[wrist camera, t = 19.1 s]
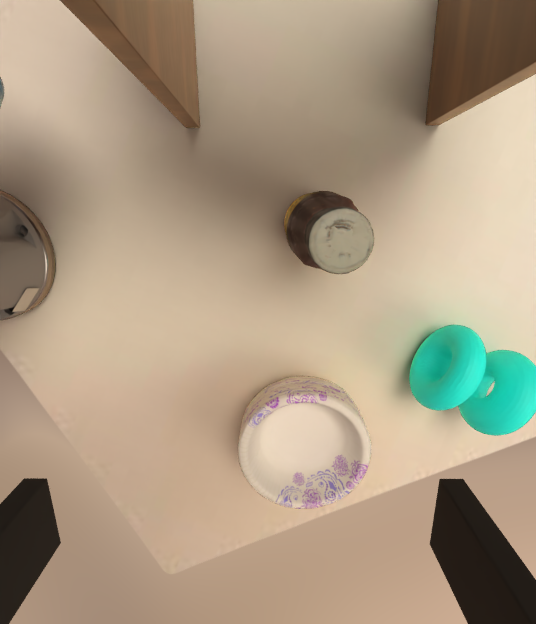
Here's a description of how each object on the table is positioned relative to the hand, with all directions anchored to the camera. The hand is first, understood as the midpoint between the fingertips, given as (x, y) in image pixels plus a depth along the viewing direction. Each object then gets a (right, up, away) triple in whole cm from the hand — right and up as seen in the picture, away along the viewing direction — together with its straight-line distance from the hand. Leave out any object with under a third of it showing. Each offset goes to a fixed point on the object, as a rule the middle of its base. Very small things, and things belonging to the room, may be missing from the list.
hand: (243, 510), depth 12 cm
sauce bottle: (+6, +17, +28) cm, 33 cm away
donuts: (+24, +1, +33) cm, 41 cm away
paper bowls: (+5, -7, +35) cm, 36 cm away
